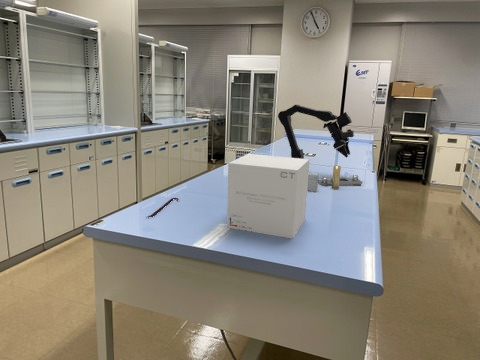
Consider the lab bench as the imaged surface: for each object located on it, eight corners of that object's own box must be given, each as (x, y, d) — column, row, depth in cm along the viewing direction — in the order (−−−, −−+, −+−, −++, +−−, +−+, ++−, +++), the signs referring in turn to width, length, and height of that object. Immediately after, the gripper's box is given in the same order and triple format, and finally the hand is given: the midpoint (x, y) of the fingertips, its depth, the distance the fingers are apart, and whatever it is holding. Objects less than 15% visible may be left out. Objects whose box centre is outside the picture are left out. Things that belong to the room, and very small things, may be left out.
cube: (227, 227, 137) (228, 163, 131) (246, 210, 157) (248, 153, 151) (293, 238, 129) (297, 170, 123) (305, 219, 148) (309, 159, 142)
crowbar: (170, 197, 170) (181, 197, 170) (170, 199, 171) (181, 200, 170) (145, 216, 144) (157, 217, 143) (145, 219, 144) (157, 220, 143)
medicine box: (317, 189, 192) (318, 173, 190) (316, 192, 188) (317, 175, 186) (302, 188, 195) (303, 172, 192) (300, 190, 190) (301, 173, 188)
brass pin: (333, 189, 194) (335, 166, 191) (330, 187, 197) (332, 165, 194) (339, 189, 194) (341, 167, 191) (337, 187, 198) (339, 165, 195)
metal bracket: (321, 185, 200) (321, 177, 199) (316, 182, 208) (317, 173, 206) (362, 185, 202) (362, 177, 201) (356, 182, 210) (357, 174, 209)
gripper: (345, 125, 196) (359, 151, 196) (350, 123, 213) (363, 146, 213) (327, 135, 201) (340, 161, 201) (333, 132, 218) (345, 155, 218)
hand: (348, 155), depth 208 cm, fingers open, 9 cm apart
